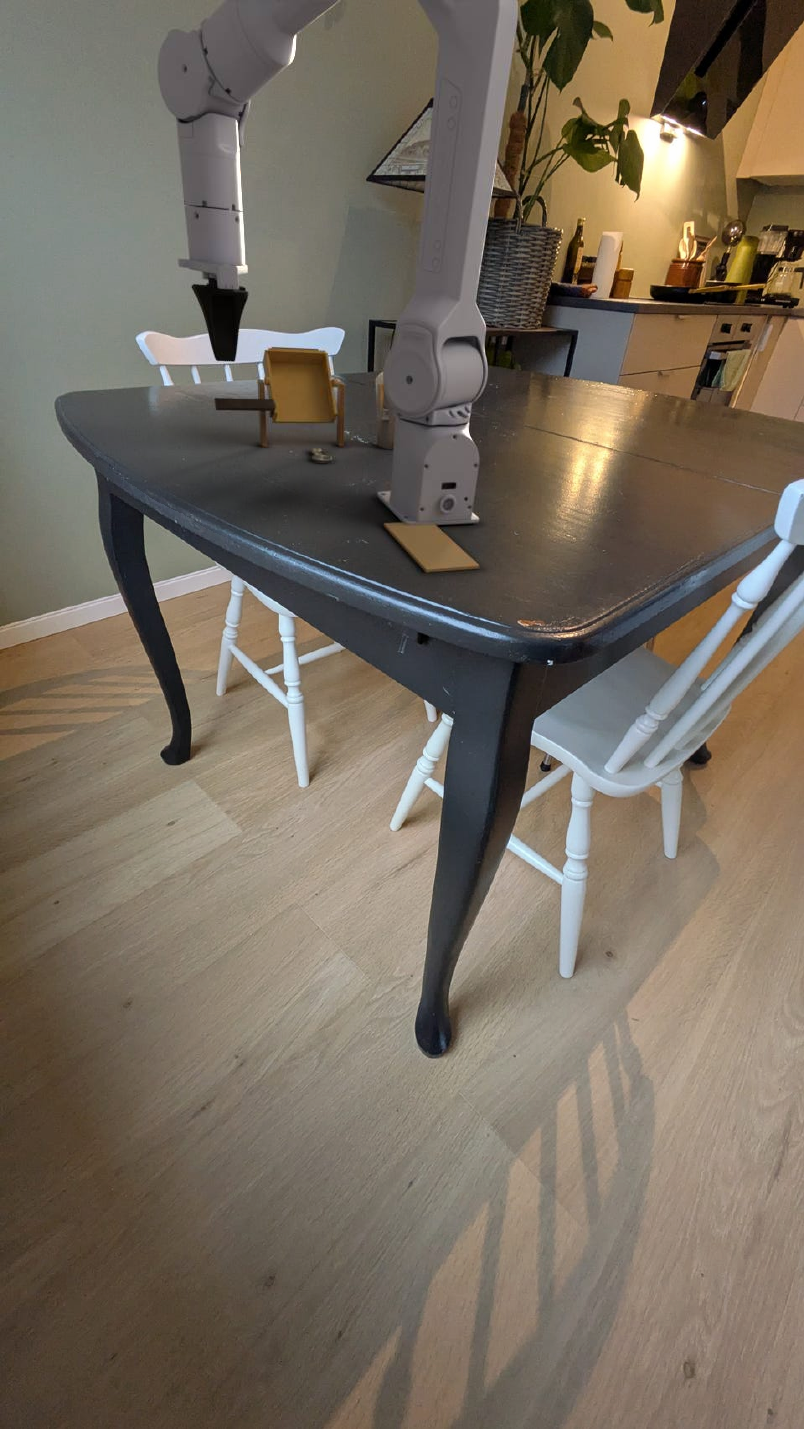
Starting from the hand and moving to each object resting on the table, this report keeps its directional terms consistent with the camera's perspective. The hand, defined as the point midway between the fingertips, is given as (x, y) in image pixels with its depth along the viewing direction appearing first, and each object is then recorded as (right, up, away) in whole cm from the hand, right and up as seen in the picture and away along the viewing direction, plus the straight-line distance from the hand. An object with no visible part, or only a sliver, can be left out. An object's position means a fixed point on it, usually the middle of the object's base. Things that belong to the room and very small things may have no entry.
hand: (225, 360), depth 72 cm
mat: (+23, -25, -14) cm, 37 cm away
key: (+10, -8, +7) cm, 14 cm away
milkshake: (+19, -4, +14) cm, 24 cm away
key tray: (+4, +1, +8) cm, 9 cm away
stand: (+7, -5, +11) cm, 14 cm away
